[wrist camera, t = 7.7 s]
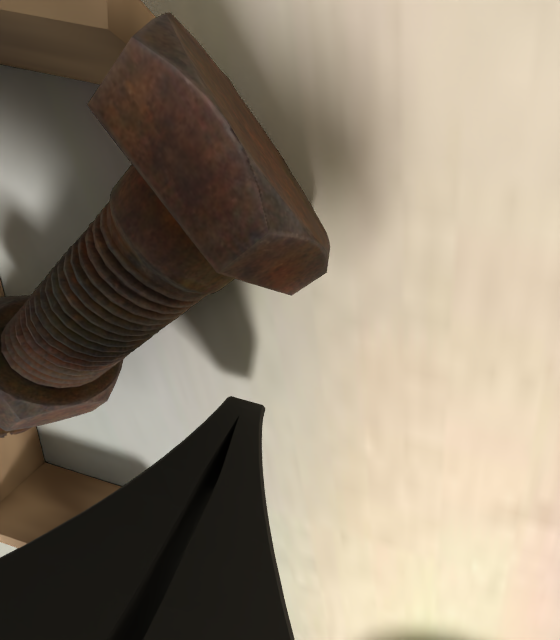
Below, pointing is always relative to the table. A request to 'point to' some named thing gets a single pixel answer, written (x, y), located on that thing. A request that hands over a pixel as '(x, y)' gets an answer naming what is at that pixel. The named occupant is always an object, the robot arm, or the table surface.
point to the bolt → (157, 230)
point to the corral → (24, 448)
